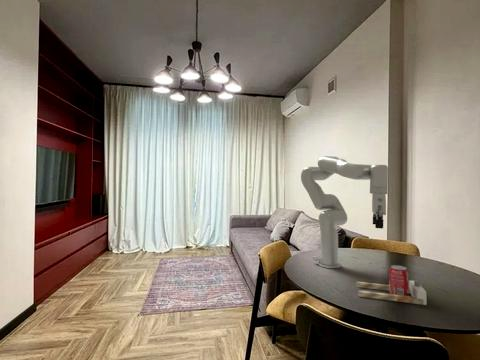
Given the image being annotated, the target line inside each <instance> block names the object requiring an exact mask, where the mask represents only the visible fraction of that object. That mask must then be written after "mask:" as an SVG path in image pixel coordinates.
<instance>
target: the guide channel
mask: <svg viewBox="0 0 480 360" xmlns="http://www.w3.org/2000/svg"><path fill="white" fill-rule="evenodd" d="M355 283H356V285H355V286H356V288H360V289H361V288H362V289H370V290H379V291H388V292H390V290H389V284H382V283H373V282H365V281H356V282H355ZM409 294H410V288H409ZM358 297H360V298H369V299H374V300H375V299H376V300H385V301H390V302H391V301H393V302H399V303H408V304H416V305H420V304H419V303H422V302H423V303H422V304H421V305H422V306H425V305H424V299H417V297H412V295H411V296H410V295H408V296H405V295H394V294H390V293H385V292H374V291H368V290H358ZM419 301H421V302H419Z"/></svg>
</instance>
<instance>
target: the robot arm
mask: <svg viewBox="0 0 480 360" xmlns="http://www.w3.org/2000/svg"><path fill="white" fill-rule="evenodd" d="M335 174H336V175H339V176H341V177H344V178H346V179H347V178H348V179H352V180H357V181H358V180H360V181H361V180H363V181H364V180H367V181H369V194H372V195H371V197H372V198H371V199H372V200H371V210H372V211H371V212H372V213H373V214H372V225H375V226H374V227H375V229H381V230H382V229H384V216H386V215H387V197H386V196H387V195H388V192H389V189H388V185H389V184H388V183H389V167H388V165H387V164H373V165H372V164H363V163H362V164H361V163H360V164H357V163H351V162H348V161H347V160H345V159H344V158H339V157H338V156H329V155H324V156H321V157H320V158H318V161H317V166H307V167H304V168H303V169H302V170H301V173H300V181H301V183H302V186H303V188H304V189H305V190H306V192H307V193H308V196H309V199H310V201H311V202H312V204H313V206H314V208H315V209H316V210H318V211H321V212H320V213H319V215H318V223H319V224H318V225H319V229H320V256H313V255H312V260H313V261H317V265H318V266H320V267H322V268H324V269H325V268H326V269H339V268H341V267H342V263H341V262H340V261H339V233H338V230H337V229H336V227H340V226H344V225H345V224H346V223H347V222H348V214H347V213H346V210H345V208H344V207H343V205H342V203H341V201H340V199H339V198H338V197H337V196H336V195H335V194H332V193H325V192H324V190H323V189H322V187H321V186H320V185H319V184H318V182H316V181H325V180H327V179H328V178H330V177H331V176H333V175H335Z"/></svg>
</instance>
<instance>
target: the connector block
mask: <svg viewBox="0 0 480 360" xmlns="http://www.w3.org/2000/svg"><path fill="white" fill-rule="evenodd" d="M409 288H410V293H409V294H410V295H411V297H417V299H424V305H423V304H422V303H423V302H422V303H419V304H418V305H423V306H427V302H428V301H427V299H428V298H427V291H426V290H425V289H424V288H423V286H422V284H421V281H420V280H418V279H415V280H410V279H409ZM419 302H421V301H419Z"/></svg>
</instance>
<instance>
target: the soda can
mask: <svg viewBox="0 0 480 360" xmlns="http://www.w3.org/2000/svg"><path fill="white" fill-rule="evenodd" d="M407 269H408V268H407V267H406V266H404V265H397V264H393V265H392V264H391V265H390V268H389V270H388V271H389V273H388V285H389V290H390V291H389V294H394V295H405V296H410V295H409V294H410V293H409V280H410V277H409V271H408V270H407Z"/></svg>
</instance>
